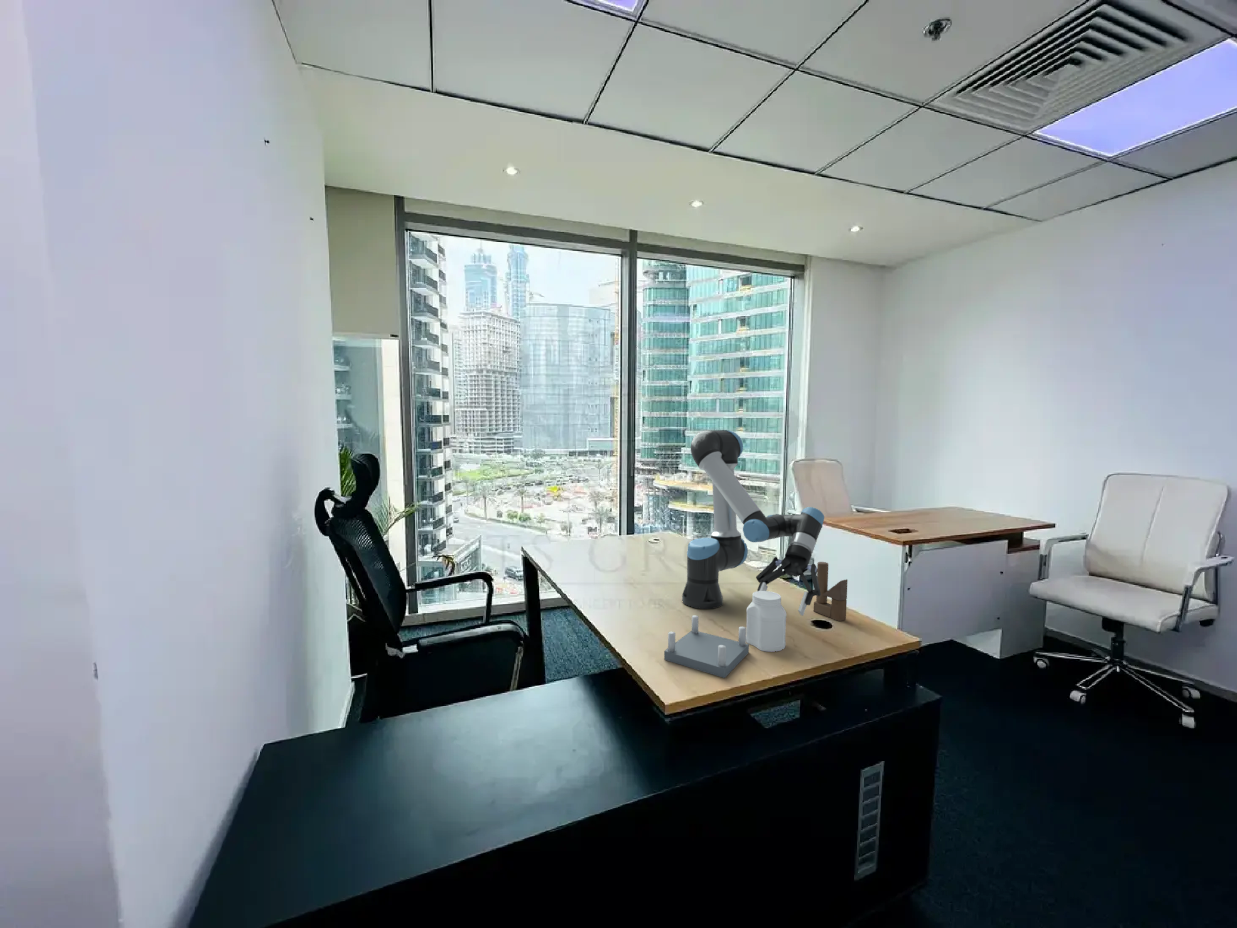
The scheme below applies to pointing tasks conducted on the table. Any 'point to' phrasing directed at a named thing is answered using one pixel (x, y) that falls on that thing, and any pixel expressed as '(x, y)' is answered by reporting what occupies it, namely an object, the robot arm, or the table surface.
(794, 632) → the table surface
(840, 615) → the wooden block
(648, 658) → the table surface
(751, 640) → the jar
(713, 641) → the peg board
